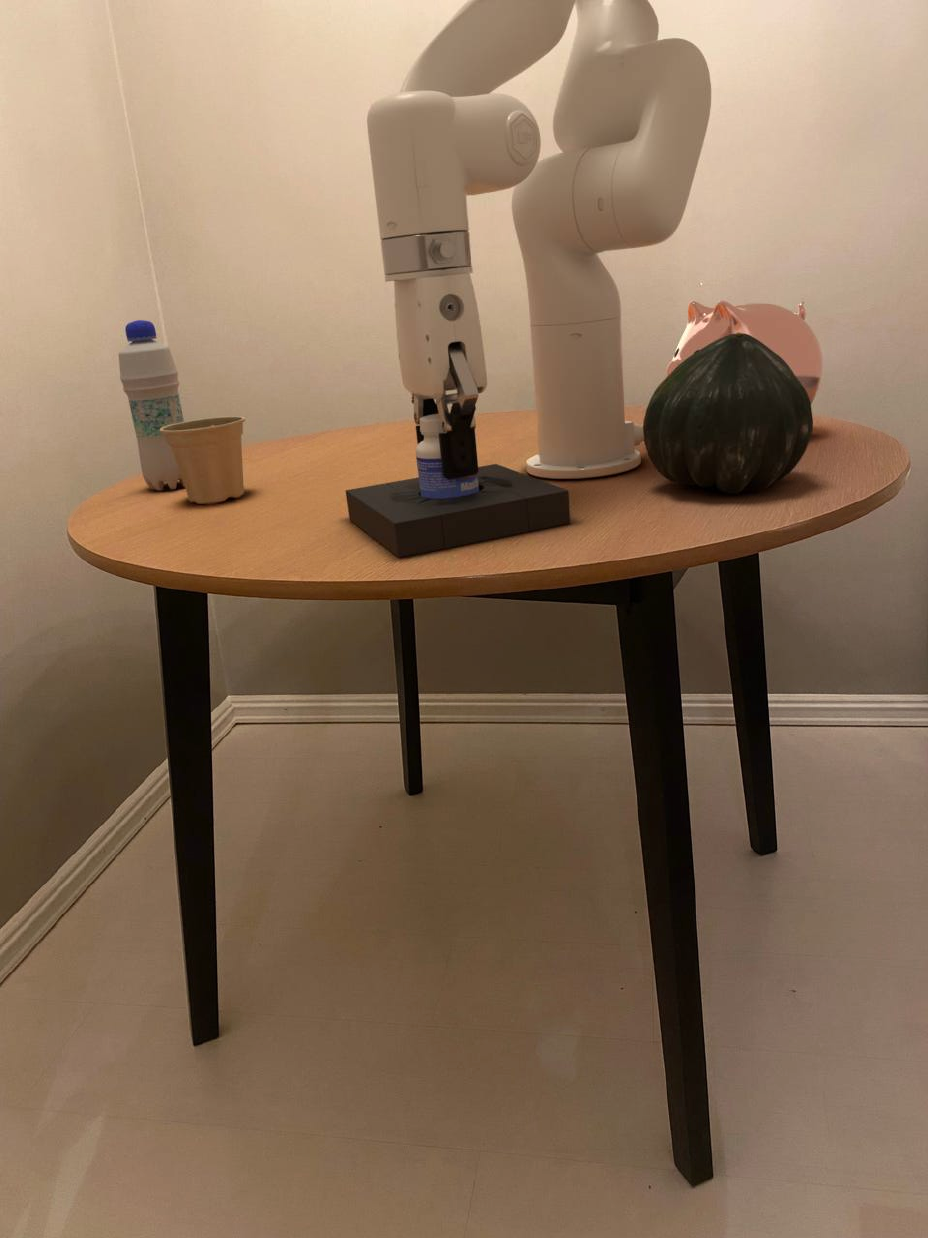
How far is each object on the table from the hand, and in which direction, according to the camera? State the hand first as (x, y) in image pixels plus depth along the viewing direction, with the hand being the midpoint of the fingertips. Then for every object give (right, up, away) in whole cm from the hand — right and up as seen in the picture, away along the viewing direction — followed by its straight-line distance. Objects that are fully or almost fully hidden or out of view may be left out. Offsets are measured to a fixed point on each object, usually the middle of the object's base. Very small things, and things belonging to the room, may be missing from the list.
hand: (448, 469), depth 86 cm
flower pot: (-27, 0, +23) cm, 35 cm away
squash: (+27, -1, +5) cm, 27 cm away
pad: (+1, -5, +2) cm, 5 cm away
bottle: (-35, +3, +32) cm, 48 cm away
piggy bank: (+34, +7, +25) cm, 43 cm away
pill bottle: (0, -5, +2) cm, 5 cm away
